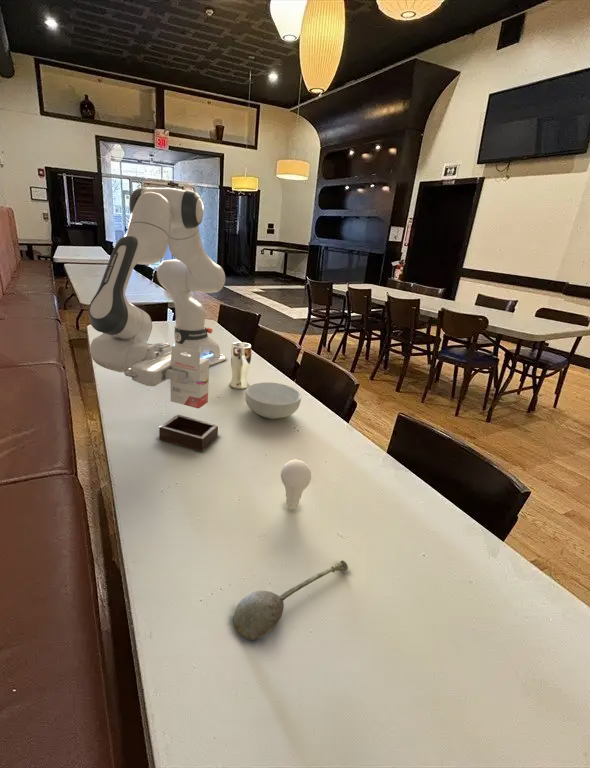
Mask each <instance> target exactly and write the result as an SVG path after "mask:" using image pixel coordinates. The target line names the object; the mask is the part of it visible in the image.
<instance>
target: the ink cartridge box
mask: <svg viewBox="0 0 590 768" xmlns="http://www.w3.org/2000/svg"><path fill="white" fill-rule="evenodd" d="M171 346H172V353H171V365H172V367H171V369H173V371H181V370H182V371H186V372H188V378H186V379H185V380H181V379H170V402H172V403H176V404H179V405H183V406H187V407H191V408H195V409H201V408H202V407H204V406H205V405H206V404H207V403H209V385H210V384H209V383H210V381H209V380H210V366H209V359H205V358H200V352H199V351H194V350H191V349H186V348H181V347H176V346H174V345H171ZM181 352H182V353H184V352H187V354H190V355H186V354H182V353H181Z"/></svg>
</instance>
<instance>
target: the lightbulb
mask: <svg viewBox="0 0 590 768" xmlns="http://www.w3.org/2000/svg"><path fill="white" fill-rule="evenodd" d="M280 479H281V482H282V484H283V487H284V489H285V505H286V507H287V508H289V509H292V510H293V509H297V508H298V507H299V504H300V500H301V498H302V494H303V492H304V491H305V489H306V488H307V487H308V486H309V485H310V483H311V480H312V469H311V468H310V466H309V465H308V464H307V463H306V462H305V461H303V460H301V459H292V460H289V461H287V462H286V463H285V464H284V465H283V466H282V468H281V470H280Z"/></svg>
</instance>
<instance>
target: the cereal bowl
mask: <svg viewBox="0 0 590 768" xmlns="http://www.w3.org/2000/svg"><path fill="white" fill-rule="evenodd" d="M245 389H246V390H245V402H246V403H245V404H246V405H247V407H248V408H249V409H250V410H251V411H252V412H253V413H255V414H257V415H259V416H261V417H263V418H265V419H271V420H276V419H282V418H286V417H290V416H292V415H293V414H294V413H296V412H297V411H298V409H299V407H300V405H301V402H302V394H301V392H300V391H299V390H297V388H294V387H292V386H289V385H286V384H285V383H284V384H283V383H279V382H272V381H271V382H268V381H266V382H257V383H253V384H251V385H248V386H247V388H245Z"/></svg>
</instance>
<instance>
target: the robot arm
mask: <svg viewBox="0 0 590 768" xmlns="http://www.w3.org/2000/svg"><path fill="white" fill-rule="evenodd" d="M128 203H129V204H128V205H129V207H128V208H129V212H130V213H129V214H130V219H129V222H128V226H127V231H126V233H125V235H124V236H122V237H121V238H119V240H118V241H116V244H115V246H114V247H113V249H112V252H111V254H110V257H109V260H108V263H107V265H106V268H105V269H104V270H105V271H104V273H103V277H102V279H101V282H100V284H99V287H98V289H97V291H96V293H95V295H93V297H92V299H91V301H90V303H89V306H88V311H87V316H88V321H89V323H90V325H91V327H92V328H93V329H94V330H95V331H97V332H99V333H102V334H100V335H98V336H96V337H94V338H93V339H92V341H91V343H90V347H89V353H90V356H91V359H92V361H94V362H95V363H96V364H97V365H98V366H100V367H101V368H104V369H106V370H110V371H113V372H116V373H123V374H124V376H125V377H128V378H131V380H132V381H134V382H136V383H138V384H141V385H144V386H147V387H156V386H157V385H159V384H162V383H163V382H165V381H167V380H171V379H181V380H185V379H186V378H188V372H186V371H182V370H181V371H173V369H171V367H172V365H171V353H172V346H176V347H181V348H186V349H191V350H194V351H199V352H200V358H205V359H209V367H211V366H213V365H216V364H219V363H221V362H224V361H226V356H225V355H223V354H222V353H221V348H220V345H219V344H218V343H217V342H216V341H214V340H213V339H212V338H211V337H209V334H212V333H213V330H214V329H213V328H211V327H205V322H206V310H205V307H204V306H203V304H202V303H201V302H199V301H198V300H196V298H194V296H193V295H192V293H202V294H212V293H219V292H220V291H221V290H222V289H223V288H224V286H225V285H226V273H225V271H224V268H223V267H222V266H221V265H219V264H217V263H216V262H215V261H213V259H212V258H210V256H209V255H208V254H207V252H206V251H205V249H204V246H203V243H202V239H201V234H200V228H199V225H200V224H202V221H203V217H204V210H205V209H204V202H203V199H202V197H201V196H200V194H199V193H198V192H196V191H193V190H190V189H186V190H184V189H180V188H173V187H149V188H148V187H138V188H135V190H134V191H132V193H131V195H130V197H129V202H128ZM168 249H169V252H170V254H171V255H172V256H173V257H174V258H175V259H167V260H166V259H165V260H163V259H164V257H165V255H166V253H167V250H168ZM160 261H161V262H160ZM158 262H159V264H158V266H157V269H156V278H157V281H158V283H159V285H161V287H163V288H164V289H165V291H166V292H167V293H168V294H169V297H170V298H171V300H172V302H173V306H174V313H175V325H174V343H173V345H171V344H170V343H168V342H159V343H148V341H149V338H150V336H151V333H152V330H153V320H152V318H151V316H150V314H149V313H147V312H146V311H144V310H143V309H141V308H140V307H138V306H136V305H134V304H132V302H130V301H128V299H127V297H126V291H127V288H128V285H129V283H130V278H131V276H132V273H133V270H134V268H135V266H136V265H143V266H144V265H145V266H148V265H154V264H156V263H158ZM181 353H182V352H181ZM182 354H186V355H190V354H187V352H184V353H182Z"/></svg>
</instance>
